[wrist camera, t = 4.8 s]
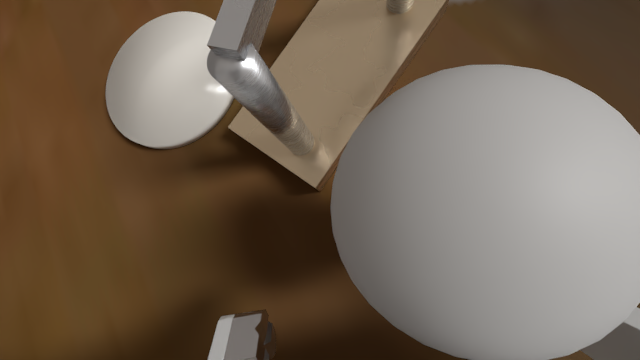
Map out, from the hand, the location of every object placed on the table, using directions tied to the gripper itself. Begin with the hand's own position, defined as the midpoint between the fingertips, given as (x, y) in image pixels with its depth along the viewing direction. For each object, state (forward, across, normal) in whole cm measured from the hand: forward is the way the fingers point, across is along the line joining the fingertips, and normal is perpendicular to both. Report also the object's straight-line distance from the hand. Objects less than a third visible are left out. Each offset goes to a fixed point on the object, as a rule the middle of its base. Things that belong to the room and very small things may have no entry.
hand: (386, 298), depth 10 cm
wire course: (+11, 0, +5) cm, 12 cm away
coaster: (+13, -10, +6) cm, 18 cm away
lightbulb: (+5, +3, -1) cm, 6 cm away
